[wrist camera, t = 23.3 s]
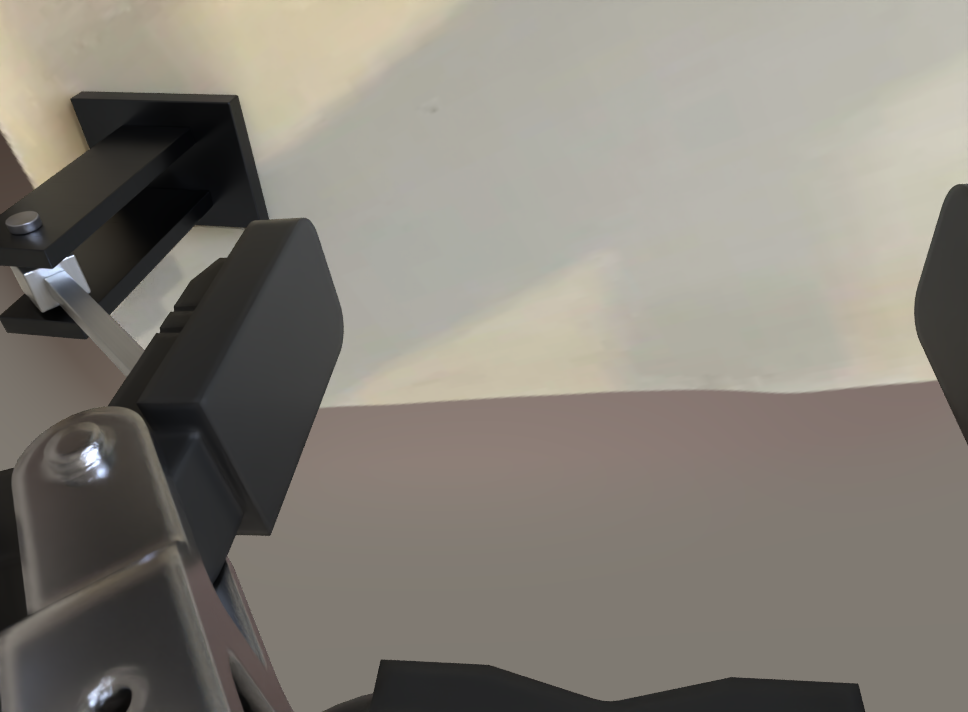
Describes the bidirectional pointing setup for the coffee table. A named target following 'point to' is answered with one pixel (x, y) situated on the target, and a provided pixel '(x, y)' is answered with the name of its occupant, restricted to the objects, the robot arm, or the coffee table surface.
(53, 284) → the red knobbed lever
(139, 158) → the black lever stand
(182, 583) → the robot arm
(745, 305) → the coffee table surface
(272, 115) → the coffee table surface
